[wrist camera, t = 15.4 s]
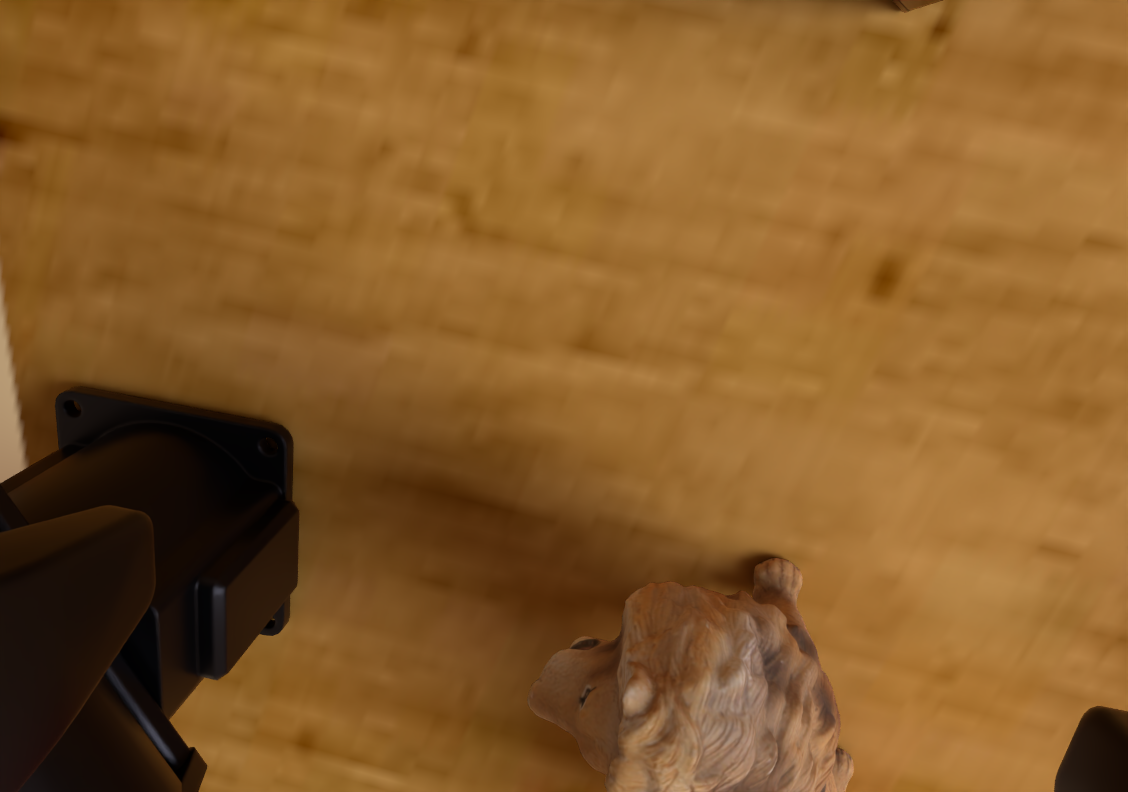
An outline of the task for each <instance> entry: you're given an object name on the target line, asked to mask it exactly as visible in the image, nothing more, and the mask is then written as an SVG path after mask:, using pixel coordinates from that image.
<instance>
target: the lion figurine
mask: <svg viewBox="0 0 1128 792" xmlns="http://www.w3.org/2000/svg"><path fill="white" fill-rule="evenodd" d="M802 581H803V579H802V574H801V572H800V570H799V569H798V568H797V567H796V566H795V565H793V564H792V563H791V562H789V561H787V560H784V559H779V558H772V559H769V560H767V561H765V562H762V563H760V564H758V565H757V566H756V567H755V570H754V585H755V588H754V590H753V598H752V597H751V596H750V595H749V594H748V593H747V592H745V591H739V592H738V593H736V594H733V595H728V596H724V595H723V594H720V593H717V592H714V591H709V590H707V589H705V588H701V587H696V586H695V585H693V586H689V587H683V586H682V585H680V584H678V583H676V582H671V581H668V582H664V583H659V584H656V583H649V584H647V585H646V586H645V587H644V588H640V589H638V590H636V591H635V592H634V593H632V594H631V595H630V596H629V598H628V599H627V600H626V601H625V608H624V612H623V615H622V628H621V632H620V635H619V636H618V637H617V638H616V639H615V640H614V641H605V640H601V639H594V638H591V637H587V636H585V637H580V638H578V639H576V640H575V641H574V642H573V643H572V644H571V646H570V648H569V649H565V650H560V651H558V652H557V653H556V654H554V655H553V656H552V657H551V658H550V660H549V661H548V663H547V664H546V665H545V667H544V669H543V671H542V673H541V675H540V678H539V679H538V680H536V681H535V682H534V683H533V684H532V685H531V688H530V690H529V694H528V699H527V701H528V705H529V707H530V708H531V710H532V711H533V712H534V713H535V714H536V715H537V716H539V717H541V718H543V719H545V720H548V721H550V722H552V723H555V724H557V725H558V726H559V727H561V728H562V729H564V730H566V731H567V732H569V733H570V734H572V735H573V736H574V737H575V738H576V740H577V742H578V745H579V748H580V752H581V754H582V756H583V757H584V759H585V760H586V761H587V762H588V763H589V764H590V766H591V767H592V768H593V769H595V770H597V771H599V772H601V773H603V774H605V775H606V779H605V787H606V789H607V792H845V790H846V787H847V784H848V782H849V780H850V778H851V777H852V775H853V771H854V768H853V760H852V758H851V756H850V755H849V754H848V753H847V752H845V751H844V750H842V749H839V748H836V747H837V744H838V739H839V733H840V714H839V711H838V708H837V704H836V700H835V696H834V692H833V688H832V686H831V684H830V682H829V679H828V677H827V675H826V674H825V673H824V671H823V670H822V668H821V665H820V662H819V658H818V654H817V650H816V647H815V645H814V643H813V641H812V639H811V637H810V635H809V632H808V631H807V629H806V626H805V623H804V621H803V618H802V616H801V615H800V613H799V611H798V609H797V597H798V594H799V591H800V589H801V586H802Z"/></svg>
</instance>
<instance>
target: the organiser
mask: <svg viewBox="0 0 1128 792" xmlns="http://www.w3.org/2000/svg"><path fill="white" fill-rule="evenodd" d="M892 1H893V2H894V3H895V4H896V5H897V6H898V7H899V8H900V10H901V11H902V12H904V13H905V12H908V11H911V10H914V9H917V8H920V7H923V6H926V5H930V4H933V3H936V2H939V1H942V0H892Z"/></svg>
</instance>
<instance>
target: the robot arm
mask: <svg viewBox="0 0 1128 792" xmlns="http://www.w3.org/2000/svg"><path fill="white" fill-rule="evenodd" d="M74 401H75V402H77V403H78V404H79V405H80V407H81V410H82V411H79V410H78V409H77V408H76V407H75V405H74ZM55 410H56V421H57V433H58V444H59V450H57V451H55V452H54V453H52V454H50V455H48V456H47V457H45V458H43V459H42V460H40V461H38V462H36V463H35V464H33V465H31V466H30V467H28V468H26V469H24V470H23V471H21V472H19V473H18V474H16V475H14V476H12V477H11V478H9V479H7V480H5V481H4V482H2V483H0V792H198V791H199V788H200V785H201V783H202V780H203V777H204V775H205V772H206V769H207V764H206V763H205V762H204V760H203V759H202V757H201V756H200V755H199V753H198V752H197V750H196V749H195V748H194V747H190V748H188V746H187V745H186V743H185V742H184V741H183V739H182V738H181V736H180V735H179V734H178V732H177V731H176V729H175V728H174V727H173V725H172V724H171V722H170V721H169V719H170V718H171V717H172V716H173V715H174V713H175V712H176V711H177V710H178V709H179V707H180V706H181V705H182V704H183V703H184V701H185V700H186V699H187V698H188V696H189V695H190V694H191V693H192V692H193V690H194V689H195V688H196V687H197V686H198V684H199V683H200V682H201V681H202V680H203V678H204V677H205V678H209V679H214V680H218V679H220V678H221V677H223V676H224V675H226V674H227V673H228V672H229V671H230V670H231V669H232V667H233V666H234V665H235V664H236V662H237V661H238V660H239V659H240V657H241V656H242V655H243V654H244V652H245V651H246V650H247V649H248V647H249V646H250V645H251V643H252V642H253V641H254V640H255V638H256V637H257V636H258V635H259V634H262V635H269V636H273V635H276V634H279V632H280V631H281V630H282V629H283V628H284V627H285V625H286V624H287V623H288V621H289V617H290V594H291V593H292V592H293V590H294V589H295V588H296V586H297V581H298V541H299V510H298V508H297V506H296V505H295V503H294V502H293V501H292V485H293V439H292V436H291V434H290V433H289V431H288V430H287V429H286V428H284V427H283V426H281V425H279V424H276V423H271V422H266V421H261V420H256V419H250V418H245V417H240V416H234V415H229V414H224V413H219V412H213V411H208V410H203V409H197V408H192V407H187V406H182V405H176V404H171V403H166V402H160V401H155V400H150V399H145V398H139V397H134V396H129V395H124V394H118V393H113V392H108V391H102V390H97V389H92V388H87V387H73V388H71V389H69V390H67V391H65V392H63V393H61V394H59V395H58V397H57V398H56V402H55ZM268 437H269V438H271V439H273V440H274V441H275V442H276V443H277V447H278V449H274V448H271V447H270V446H269V445H268V444H267V440H266V438H268ZM272 617H273V618H274V620H271V618H272ZM1054 792H1128V711H1123V710H1118V709H1113V708H1107V707H1102V706H1096V707H1093V708H1090V709H1089V710H1088V711H1087V712H1086V713H1084V715H1083V717H1082V718H1081V720H1080V722H1079V725H1078V727H1077V729H1076V731H1075V734H1074V736H1073V738H1072V740H1071V742H1070V745H1069V747H1068V749H1067V751H1066V754H1065V756H1064V758H1063V760H1062V763H1061V765H1060V767H1059V769H1058V772H1057V775H1056V779H1055V788H1054Z"/></svg>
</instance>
